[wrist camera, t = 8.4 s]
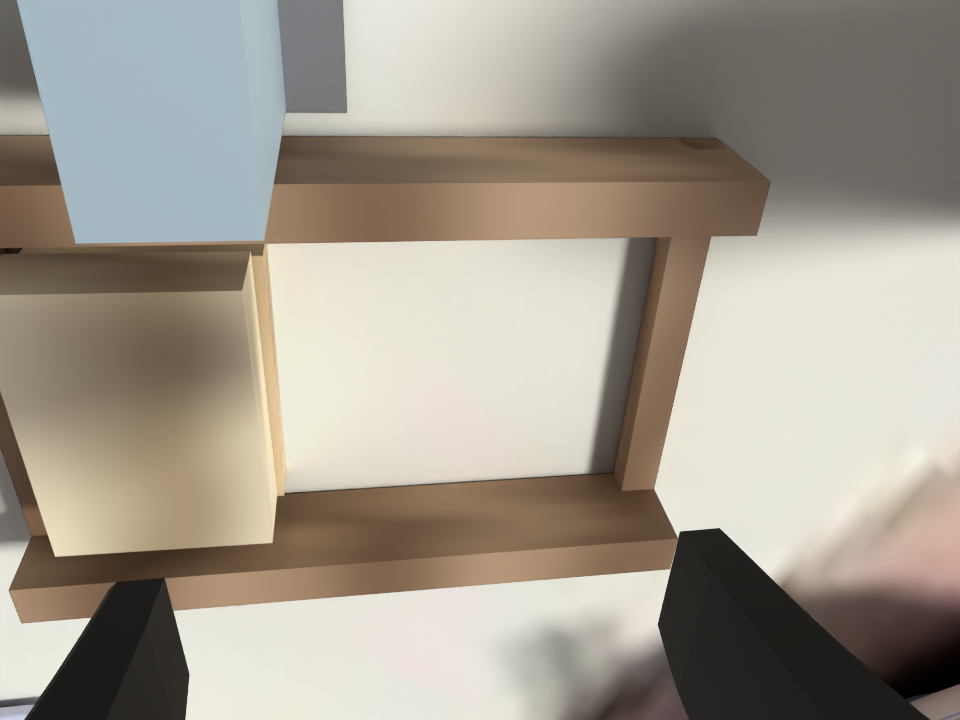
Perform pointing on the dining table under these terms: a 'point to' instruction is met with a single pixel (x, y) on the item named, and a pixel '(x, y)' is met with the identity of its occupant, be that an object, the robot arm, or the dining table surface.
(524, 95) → the dining table surface
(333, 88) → the dark grey panel
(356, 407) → the dining table surface
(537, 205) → the rack
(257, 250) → the offcut lower
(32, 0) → the pale blue tall box
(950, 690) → the ramen bowl
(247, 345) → the offcut upper
